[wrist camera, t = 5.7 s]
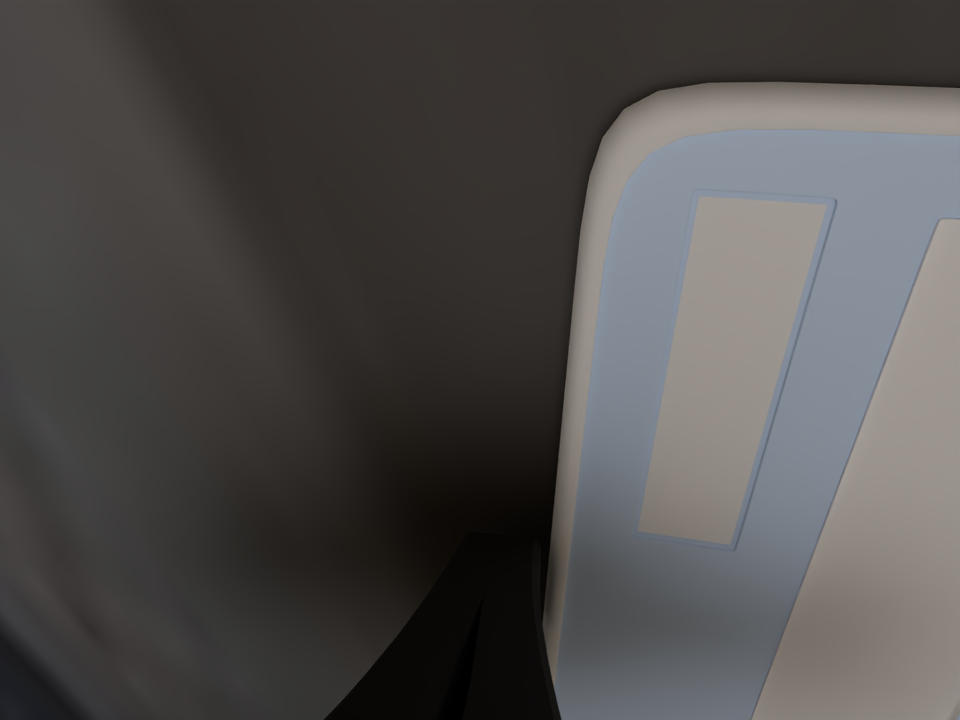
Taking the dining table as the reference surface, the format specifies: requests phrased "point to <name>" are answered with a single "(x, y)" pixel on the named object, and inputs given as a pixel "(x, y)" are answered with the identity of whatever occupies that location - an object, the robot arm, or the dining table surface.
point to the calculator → (764, 411)
